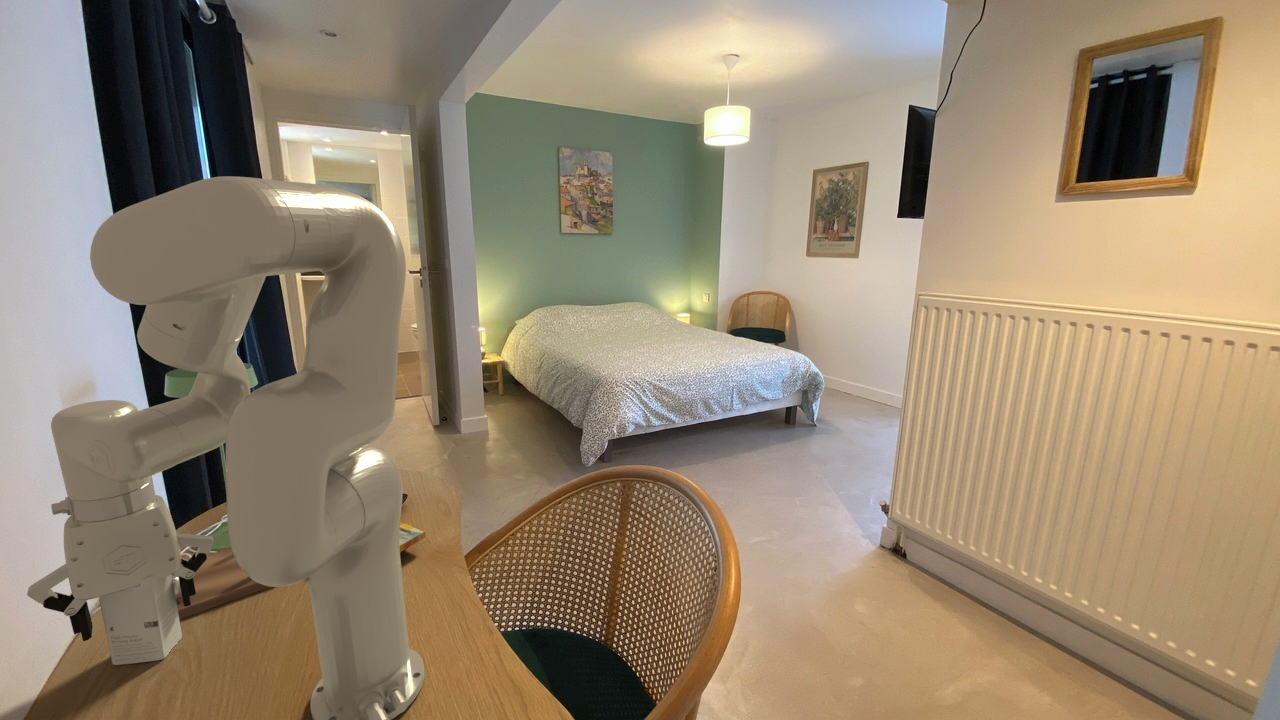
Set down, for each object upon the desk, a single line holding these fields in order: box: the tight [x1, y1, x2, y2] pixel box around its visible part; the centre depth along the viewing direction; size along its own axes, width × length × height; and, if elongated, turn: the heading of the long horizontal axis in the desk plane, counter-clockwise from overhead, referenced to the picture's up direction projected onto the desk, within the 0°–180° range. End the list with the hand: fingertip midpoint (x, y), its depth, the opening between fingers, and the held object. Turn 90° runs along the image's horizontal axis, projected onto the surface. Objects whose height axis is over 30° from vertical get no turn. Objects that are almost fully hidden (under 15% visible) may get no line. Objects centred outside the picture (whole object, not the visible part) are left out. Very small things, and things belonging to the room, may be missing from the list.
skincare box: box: [98, 574, 183, 666], centre depth 70 cm, size 6×4×12 cm
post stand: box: [172, 547, 271, 620], centre depth 85 cm, size 14×16×6 cm
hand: (139, 616), depth 71 cm, fingers open, 9 cm apart
